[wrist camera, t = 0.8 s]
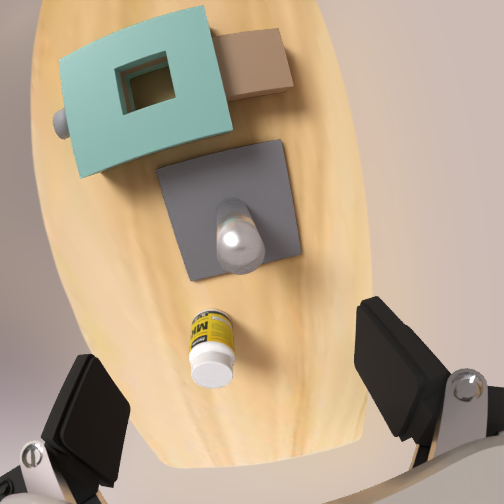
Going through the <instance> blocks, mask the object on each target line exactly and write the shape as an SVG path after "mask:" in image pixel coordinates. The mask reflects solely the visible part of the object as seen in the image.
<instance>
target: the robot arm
mask: <svg viewBox="0 0 504 504" xmlns="http://www.w3.org/2000/svg"><path fill="white" fill-rule="evenodd" d="M354 364H355V368H356V370H357V372H358V373H359V375H360V377H361V379H362V380H363V382H364V384H365V386H366V387H367V389H368V391H369V393H370V394H371V396H372V398H373V400H374V401H375V403H376V405H377V407H378V409H379V411H380V412H381V414H382V416H383V417H384V420H385V421H386V423H387V425H388V427H389V429H390V430H391V432H392V434H393V435H394V437H398V436H399V437H400V439H401V441H402V442H403V441H405V440H407V439H409V438H411V437H412V438H413V440H414V442H415V443H416V444H417V445H416V449H415V452H414V455H413V459H412V462H411V465H410V468H409V471H407V472H405V473H403V474H401V475H399V476H396V477H395V478H392V479H390V480H387V481H385V482H383V483H380V484H378V485H375V486H373V487H370V488H368V489H365V490H363V491H360V492H357V493H354V494H352V495H349V496H346V497H343V498H340V499H337V500H333V501H330V502H327V503H323V504H504V388H502V387H493V386H487V382H486V380H485V378H484V376H483V375H482V374H480V373H479V372H477V371H475V370H473V369H468V368H467V369H460V370H457V371H455V372H454V373H453V374H451V373H450V372H449V371H448V370H447V369H446V368H445V366H444V365H443V364H442V363H441V362H440V360H439V359H438V358H437V357H436V356H435V355H434V354H433V352H432V351H431V350H430V349H429V348H428V347H427V346H426V345H425V344H424V342H423V341H422V340H421V339H420V338H419V337H418V336H417V335H416V334H415V333H414V331H413V330H412V329H411V328H410V327H408V326H407V325H405V324H404V323H403V322H402V321H401V320H400V319H399V318H398V317H397V316H396V315H395V314H394V313H393V312H392V310H391V309H390V308H389V307H388V306H387V305H386V304H385V303H384V302H383V301H382V300H381V299H380V298H379V297H378V296H375V297H372V298H369V299H365V300H362V301H361V304H360V306H358V307H357V312H356V337H355V353H354ZM129 415H130V405H129V402H128V401H127V400H126V398H125V397H124V396H123V394H122V393H121V391H120V390H119V389H118V387H117V386H116V384H115V383H114V381H113V380H112V379H111V377H110V376H109V374H108V373H107V371H106V369H105V368H104V366H103V365H102V363H101V362H100V360H99V359H98V358H96V357H95V356H94V355H93V354H83V355H78V356H77V358H76V360H75V362H74V364H73V366H72V368H71V370H70V372H69V374H68V376H67V378H66V380H65V382H64V384H63V386H62V388H61V390H60V393H59V395H58V397H57V399H56V402H55V404H54V406H53V408H52V411H51V413H50V415H49V418H48V420H47V422H46V425H45V427H44V430H43V432H42V435H41V438H42V439H43V440H44V441H45V444H42V443H41V442H40V441H37V440H32V441H29V442H28V443H26V444H25V445H24V446H23V448H22V449H21V451H20V455H19V462H20V465H19V466H17V467H16V468H14V469H12V470H11V471H9V472H8V473H6V474H4V475H3V476H1V477H0V504H107V502H106V500H105V499H104V497H103V496H102V494H101V492H100V491H99V489H98V487H99V484H100V485H101V486H106V487H111V488H113V487H114V482H115V481H116V480H117V478H118V472H119V466H120V460H121V455H122V449H123V444H124V439H125V434H126V429H127V424H128V419H129Z"/></svg>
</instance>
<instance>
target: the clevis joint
mask: <svg viewBox="0 0 504 504" xmlns="http://www.w3.org/2000/svg"><path fill="white" fill-rule="evenodd" d="M167 66H169V68H170V73H171V78H172V82H173V87H174V91H175V96H176V98H173V99H170V100H166V101H163V102H160V103H157V104H154V105H151V106H148V107H145V108H142V109H139V110H136V108H135V104H134V99H133V94H132V89H131V84H130V79H131V78H134V77H137V76H140V75H142V74H145V73H148V72H151V71H154V70H157V69H160V68H164V67H167ZM59 67H60V77H61V85H62V93H63V100H64V106H65V108H63V109H62V110H60V111H58V112H56V113H55V114H54V117H53V126H54V129H55V132H56V134H57V135H58V136H59V137H60V138H61V139H66V138H68V137H70V138H71V143H72V147H73V151H74V156H75V160H76V164H77V167H78V171H79V175H80V179H81V178H84V177H87V176H91V175H94V174H97V173H100V172H103V171H105V170H108V169H110V168H113V167H116V166H118V165H121V164H124V163H126V162H129V161H132V160H135V159H138V158H141V157H144V156H146V155H150V154H153V153H156V152H159V151H162V150H165V149H168V148H172V147H175V146H179V145H182V144H186V143H189V142H193V141H197V140H200V139H204V138H208V137H212V136H216V135H220V134H225V133H229V132H231V131H232V130H233V126H232V122H231V118H230V113H229V109H228V105H227V102H229V101H234V100H239V99H244V98H250V97H255V96H261V95H267V94H274V93H281V92H286V91H288V90H289V89H290V88H292V87H293V86H294V85H293V80H292V76H291V72H290V68H289V64H288V61H287V57H286V53H285V49H284V46H283V42H282V39H281V35H280V32H279V28H276V29H265V30H255V31H247V32H240V33H234V34H228V35H222V36H217V37H211V33H210V29H209V25H208V21H207V17H206V13H205V9H204V5H202V6H198V7H193V8H189V9H184V10H180V11H177V12H173V13H169V14H166V15H162V16H159V17H156V18H152V19H149V20H146V21H143V22H140V23H138V24H135V25H132V26H129V27H127V28H124V29H122V30H119V31H117V32H114V33H112V34H110V35H107V36H105V37H103V38H101V39H98V40H96V41H94V42H92V43H90V44H88V45H86V46H84V47H82V48H80V49H78V50H76V51H74V52H72V53H71V54H69V55H67V56H65V57H63V58H62V59H60V60H59Z"/></svg>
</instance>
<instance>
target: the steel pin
mask: <svg viewBox="0 0 504 504" xmlns="http://www.w3.org/2000/svg"><path fill="white" fill-rule="evenodd" d="M264 256H265V247H264V244H263V241H262V239H261V237H260V235H259V233H258V230H257V228H256V226H255V224H254V222H253V220H252V217H251V215H250V213H249V211H248V209H247V206H246V205H245V203H244V202H243V201H241V200H239V199H237V198H228V199H226V200H224V201H223V202H221V203H220V205H219V206H218V209H217V258H218V261H219V263H220V265H221V266H222V267H223V268H224V269H225V270H226V271H228V272H230V273H233V274H239V275H242V274H247V273H250V272H252V271H254V270H256V269H257V268H258V267H259V266H260V265H261V263H262V262H263V259H264Z"/></svg>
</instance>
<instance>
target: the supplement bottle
mask: <svg viewBox="0 0 504 504" xmlns="http://www.w3.org/2000/svg"><path fill="white" fill-rule="evenodd" d="M189 361H190V364H191V375H192V379H193V380H194V381H195V382H196V383H197V384H198V385H200V386H202V387H206V388H220V387H223V386H225V385H227V384H228V383H229V382H230V381H231V380H232V378H233V367H232V366H233V365H234V362H235V349H234V340H233V328H232V321H231V319H230V317H229V316H228V315H227V314H226V313H224V312H222V311H220V310H216V309H206V310H203V311H201V312H199V313H198V314H197V315H196V316H195V317H194V319H193V322H192V330H191V340H190V350H189Z"/></svg>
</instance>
